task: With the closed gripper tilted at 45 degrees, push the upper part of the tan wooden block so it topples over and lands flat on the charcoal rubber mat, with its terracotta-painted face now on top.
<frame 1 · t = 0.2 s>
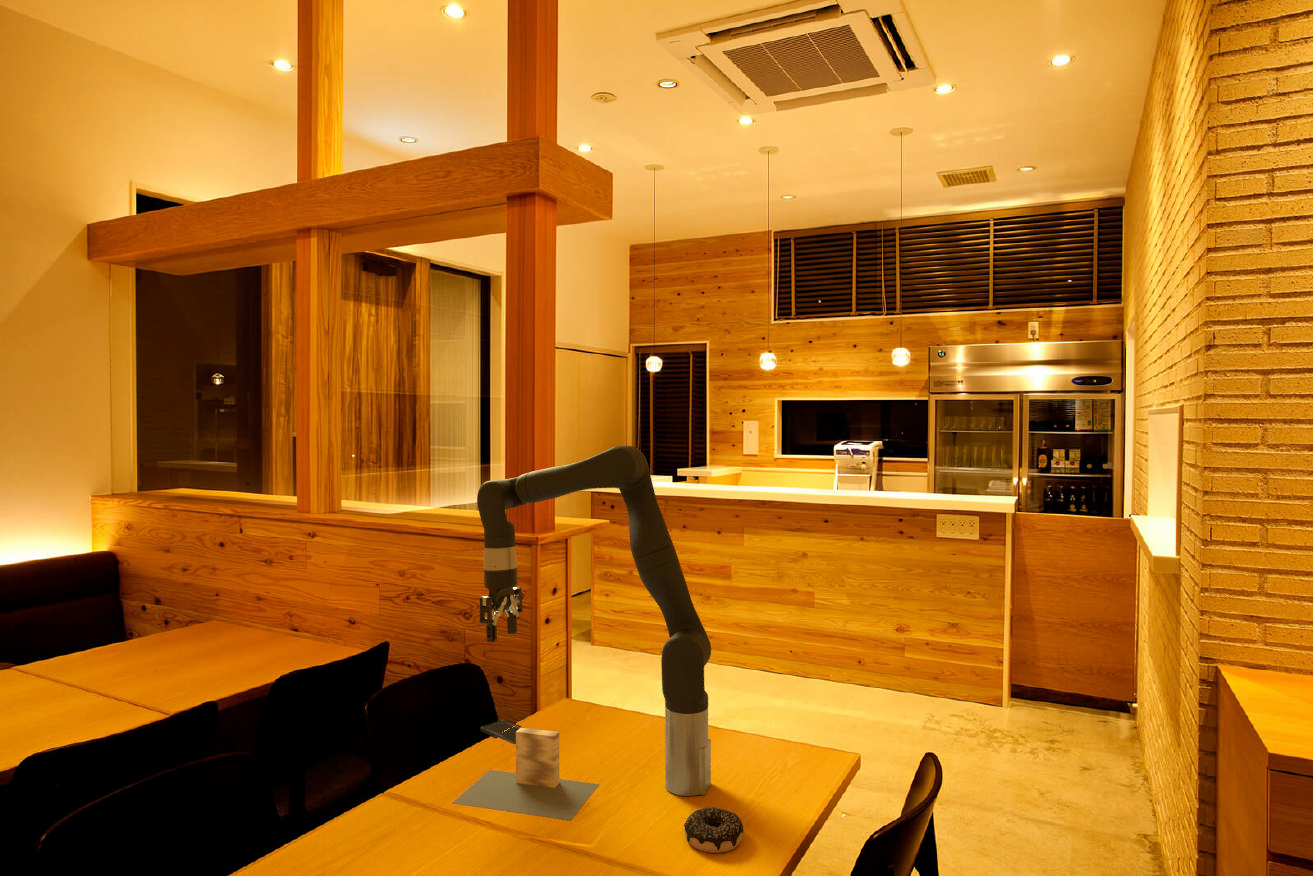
hand: (502, 637, 179), 29 cm above the table, tool pointing down, fingers open, 8 cm apart
mat: (527, 795, 162), on the table
phone: (508, 736, 196), on the table
tan wooden block: (537, 782, 167), resting on mat
donut: (713, 841, 145), on the table
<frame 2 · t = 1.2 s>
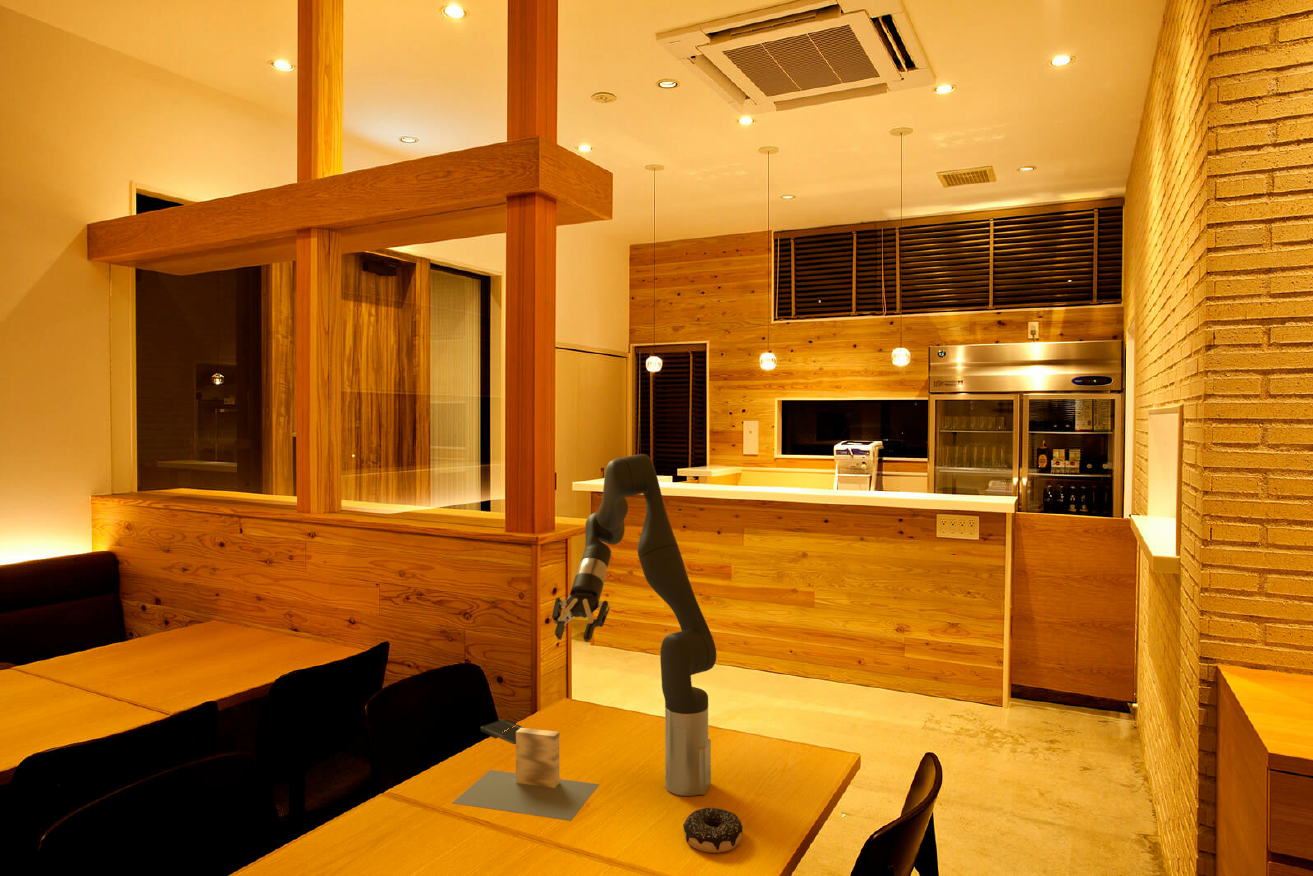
hand: (572, 638, 186), 26 cm above the table, tool tilted 45°, fingers open, 6 cm apart
nothing on the table moved.
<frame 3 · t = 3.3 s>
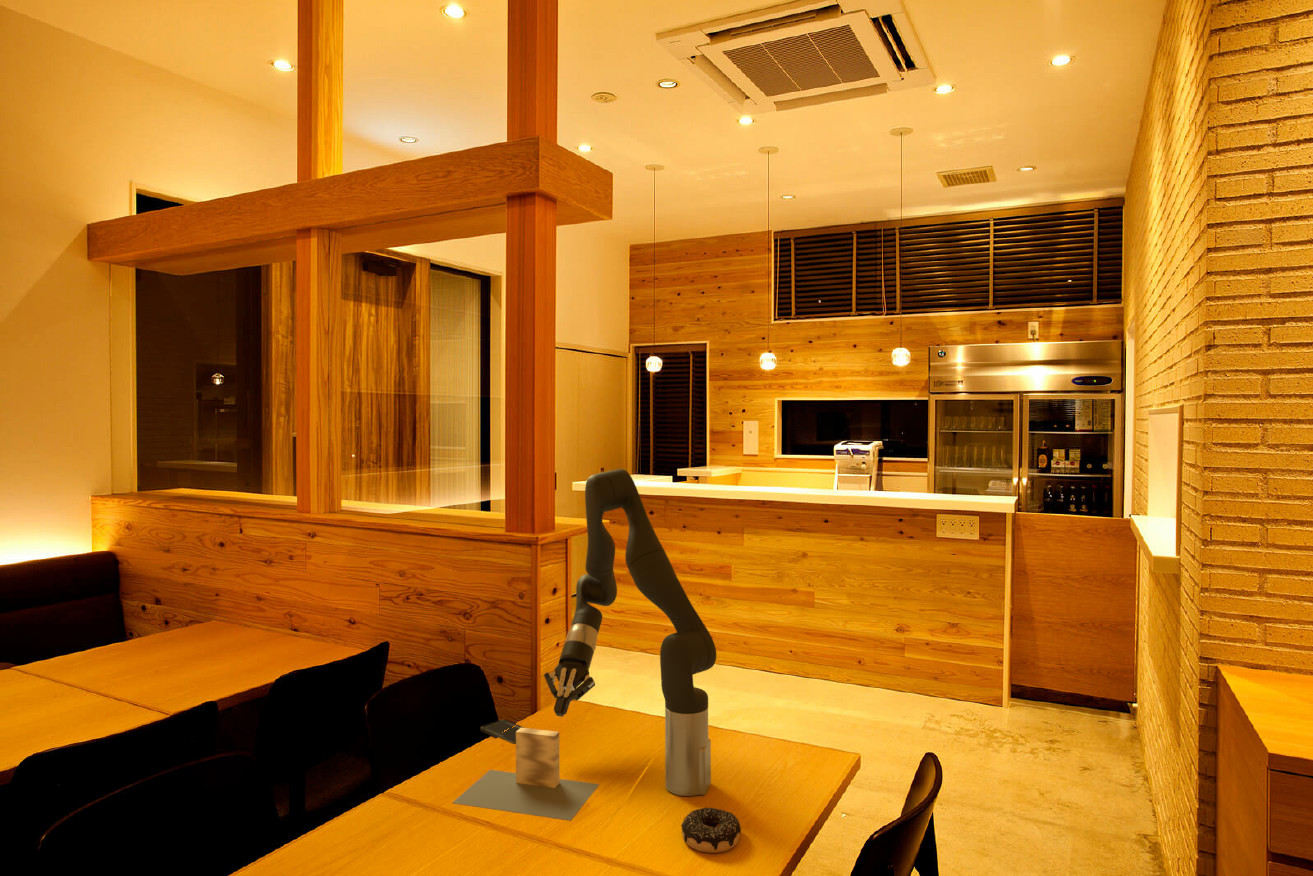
hand: (559, 714, 178), 11 cm above the table, tool tilted 45°, fingers closed
nothing on the table moved.
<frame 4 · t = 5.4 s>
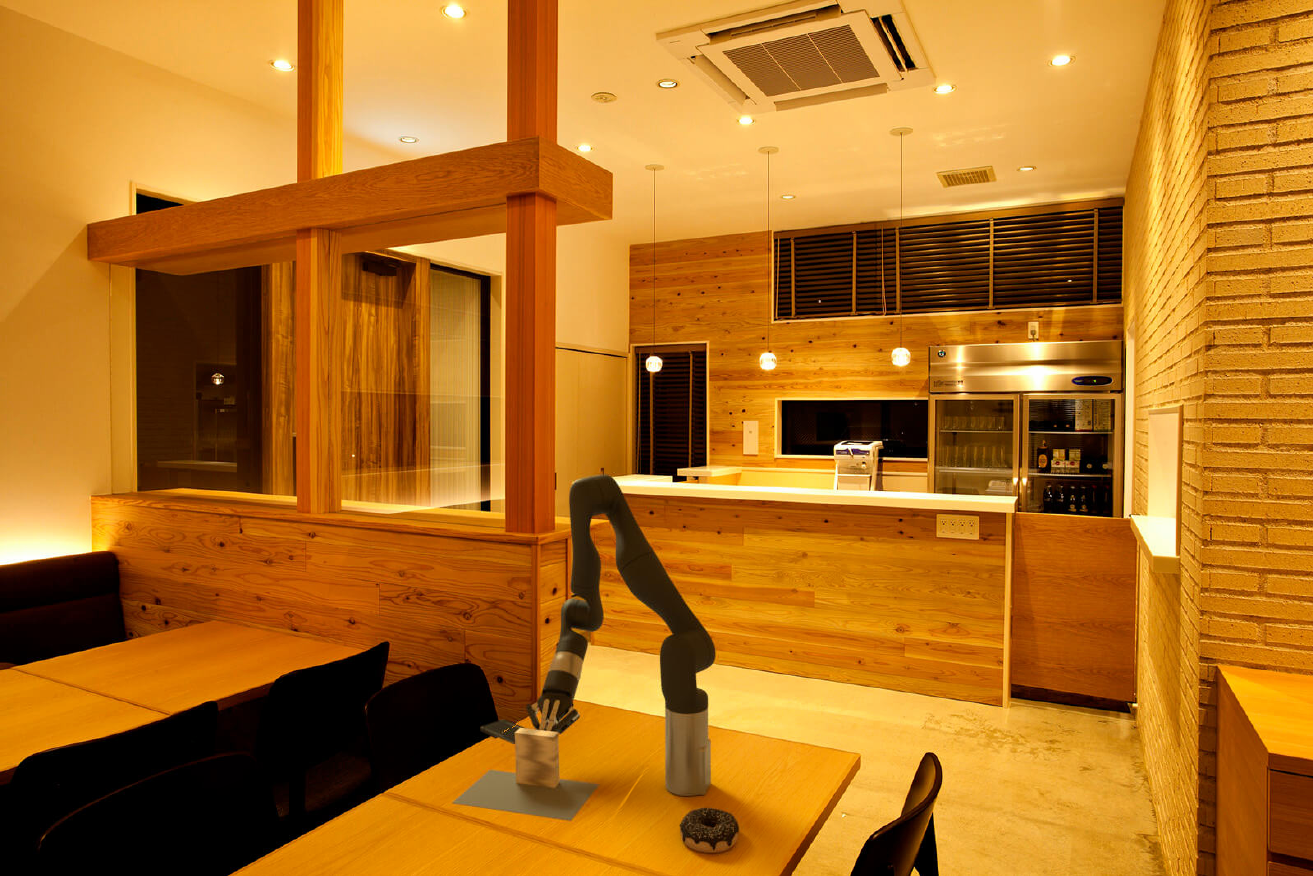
hand: (541, 750, 169), 7 cm above the table, tool tilted 45°, fingers closed
tan wooden block: (537, 782, 167), point 1 cm above the table, touching gripper, mat
everything else where it was.
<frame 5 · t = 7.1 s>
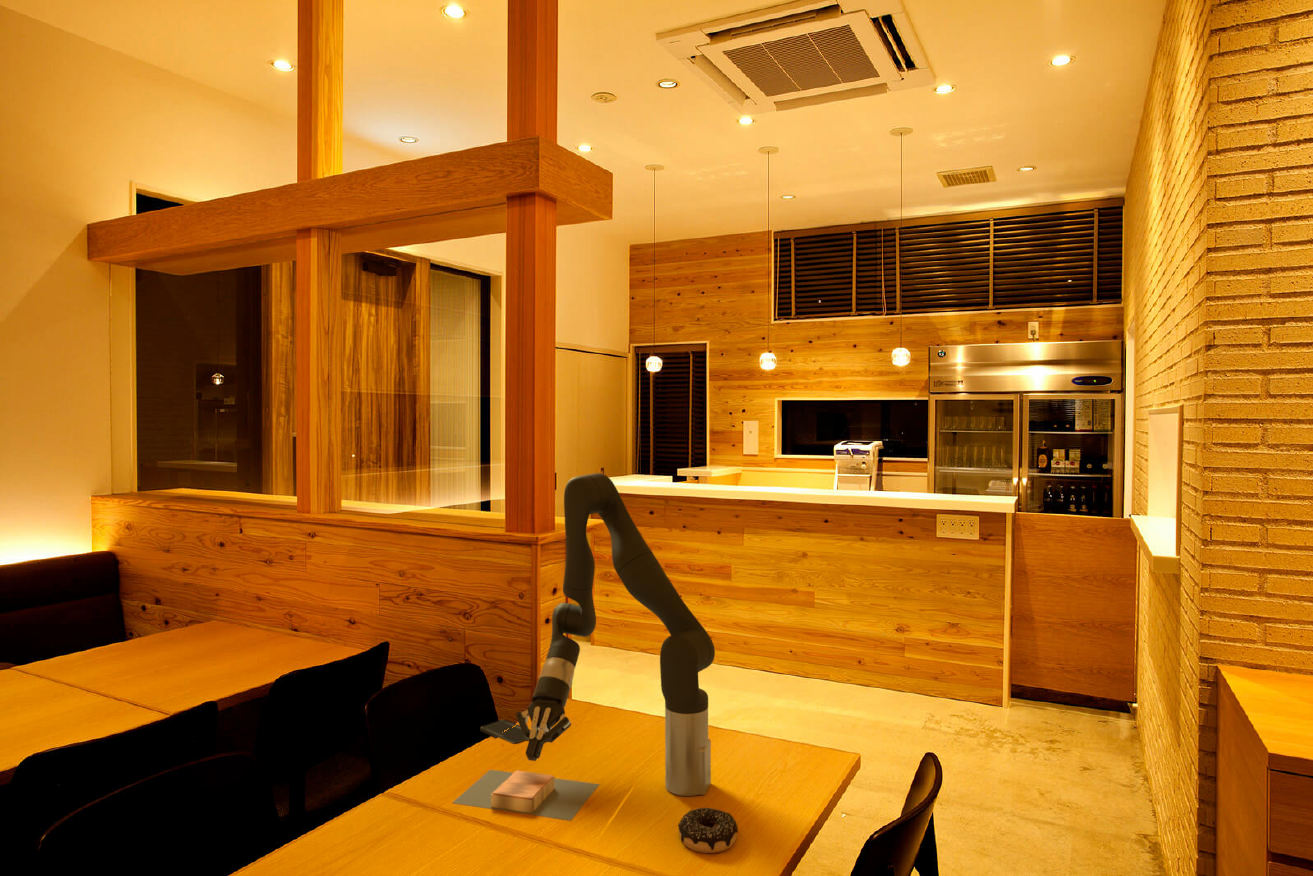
hand: (531, 759, 164), 7 cm above the table, tool tilted 45°, fingers closed
tan wooden block: (535, 779, 166), point 2 cm above the table, tilted 90°, touching mat
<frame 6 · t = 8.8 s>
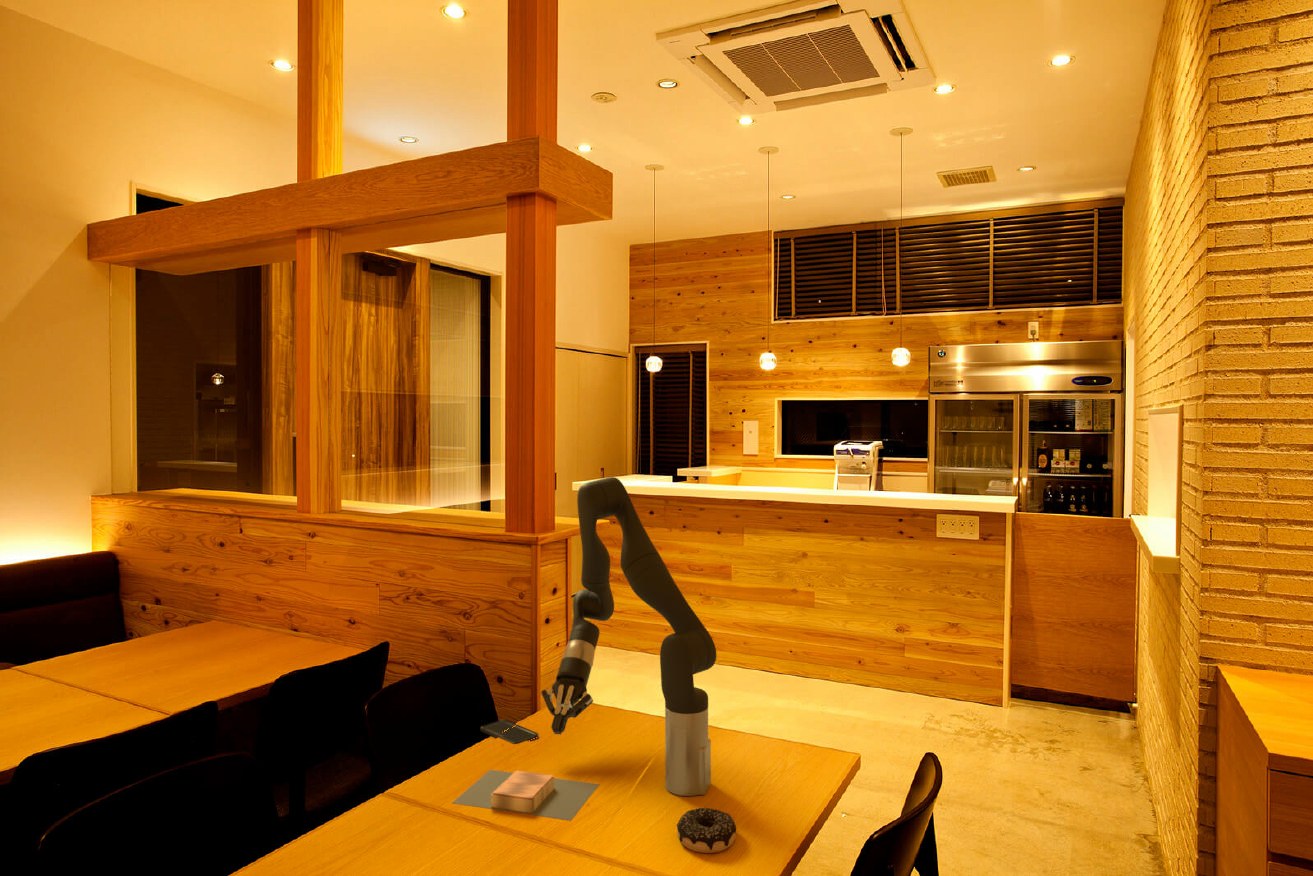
hand: (556, 732, 177), 7 cm above the table, tool tilted 45°, fingers closed
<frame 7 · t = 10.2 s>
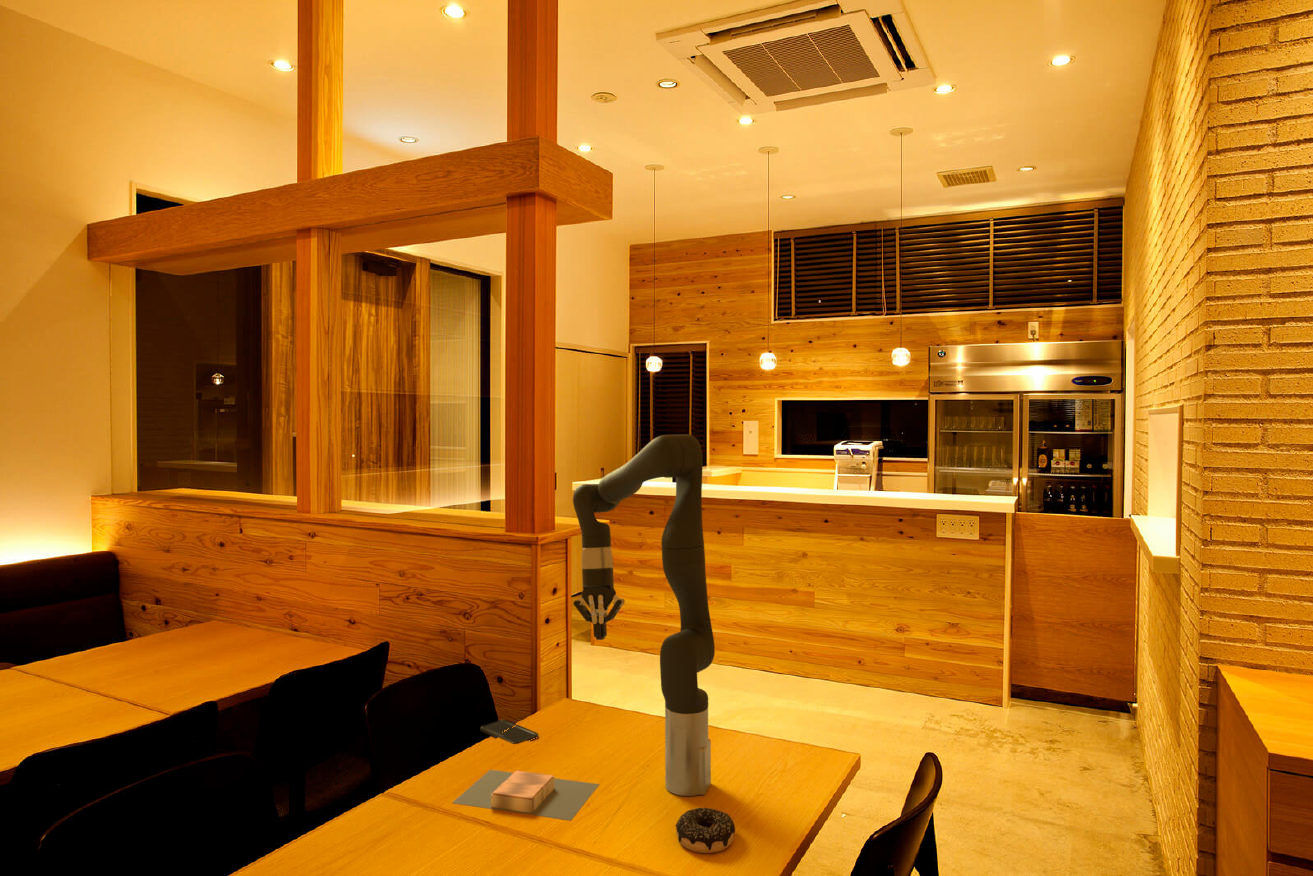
hand: (600, 639, 186), 26 cm above the table, tool pointing down, fingers closed
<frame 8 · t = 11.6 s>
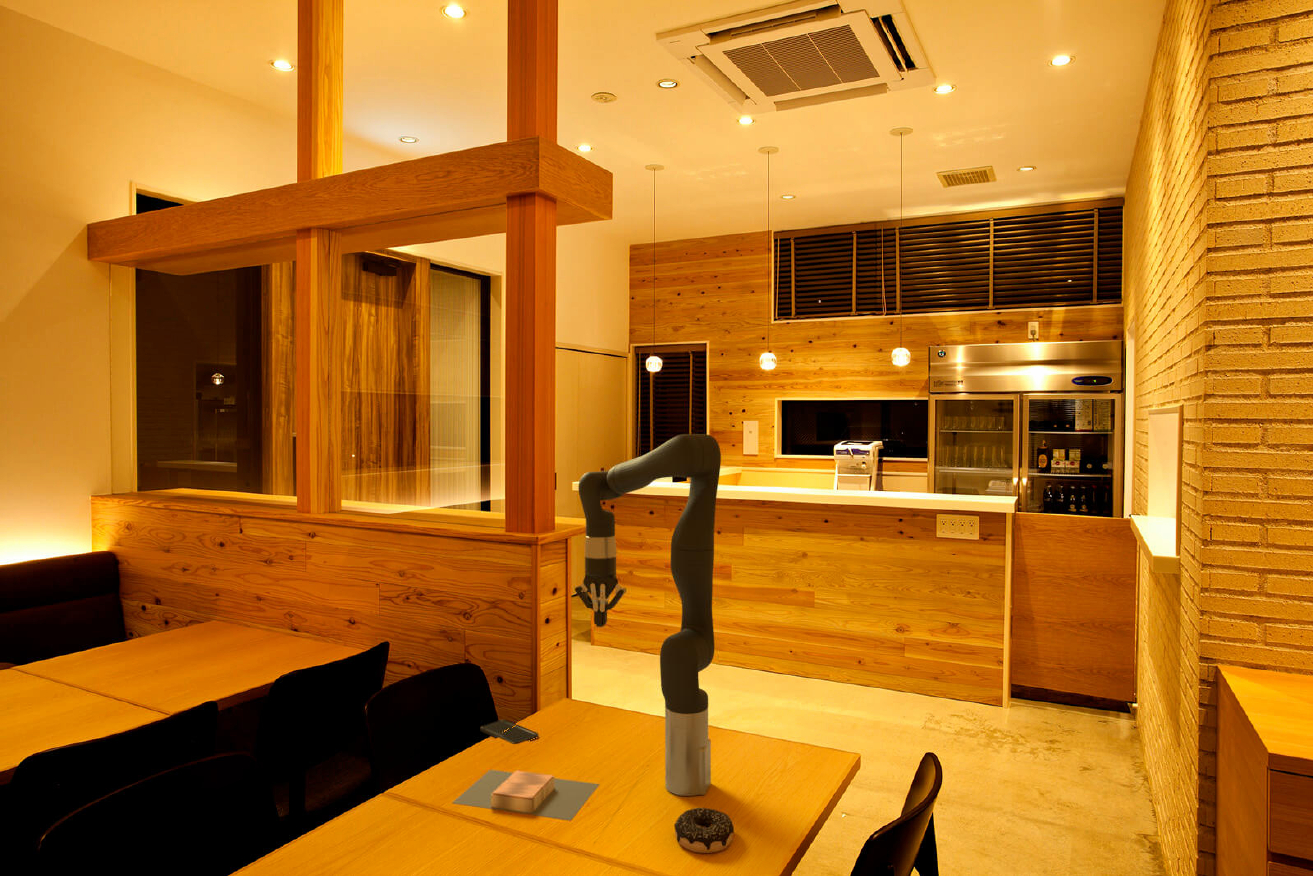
hand: (600, 626, 187), 29 cm above the table, tool pointing down, fingers closed
at the end: tan wooden block tilted 90°; tan wooden block inside the target area (4.1 cm from its centre), point 1.7 cm above the table; tan wooden block touching mat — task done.
